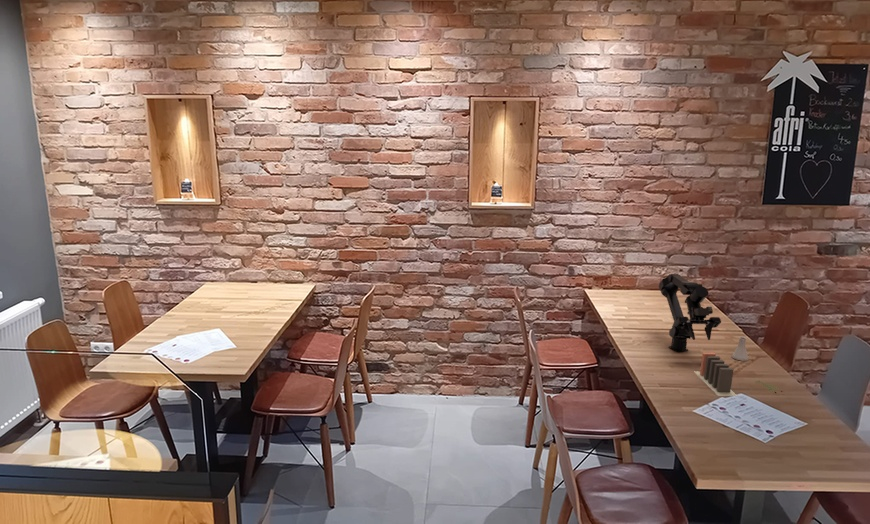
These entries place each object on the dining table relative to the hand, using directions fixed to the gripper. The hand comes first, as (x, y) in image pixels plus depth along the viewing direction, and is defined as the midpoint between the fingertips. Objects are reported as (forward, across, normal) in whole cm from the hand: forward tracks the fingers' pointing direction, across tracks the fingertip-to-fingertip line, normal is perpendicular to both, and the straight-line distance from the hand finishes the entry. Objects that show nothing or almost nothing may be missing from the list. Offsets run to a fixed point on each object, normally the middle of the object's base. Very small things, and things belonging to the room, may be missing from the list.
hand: (701, 339), depth 287 cm
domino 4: (+24, 0, -6) cm, 24 cm away
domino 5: (+26, 0, -8) cm, 28 cm away
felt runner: (+21, 0, -2) cm, 21 cm away
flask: (+1, +25, +18) cm, 31 cm away
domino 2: (+18, 0, 0) cm, 18 cm away
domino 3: (+21, 0, -3) cm, 21 cm away
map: (+26, +21, -7) cm, 34 cm away
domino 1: (+15, 0, +3) cm, 15 cm away
